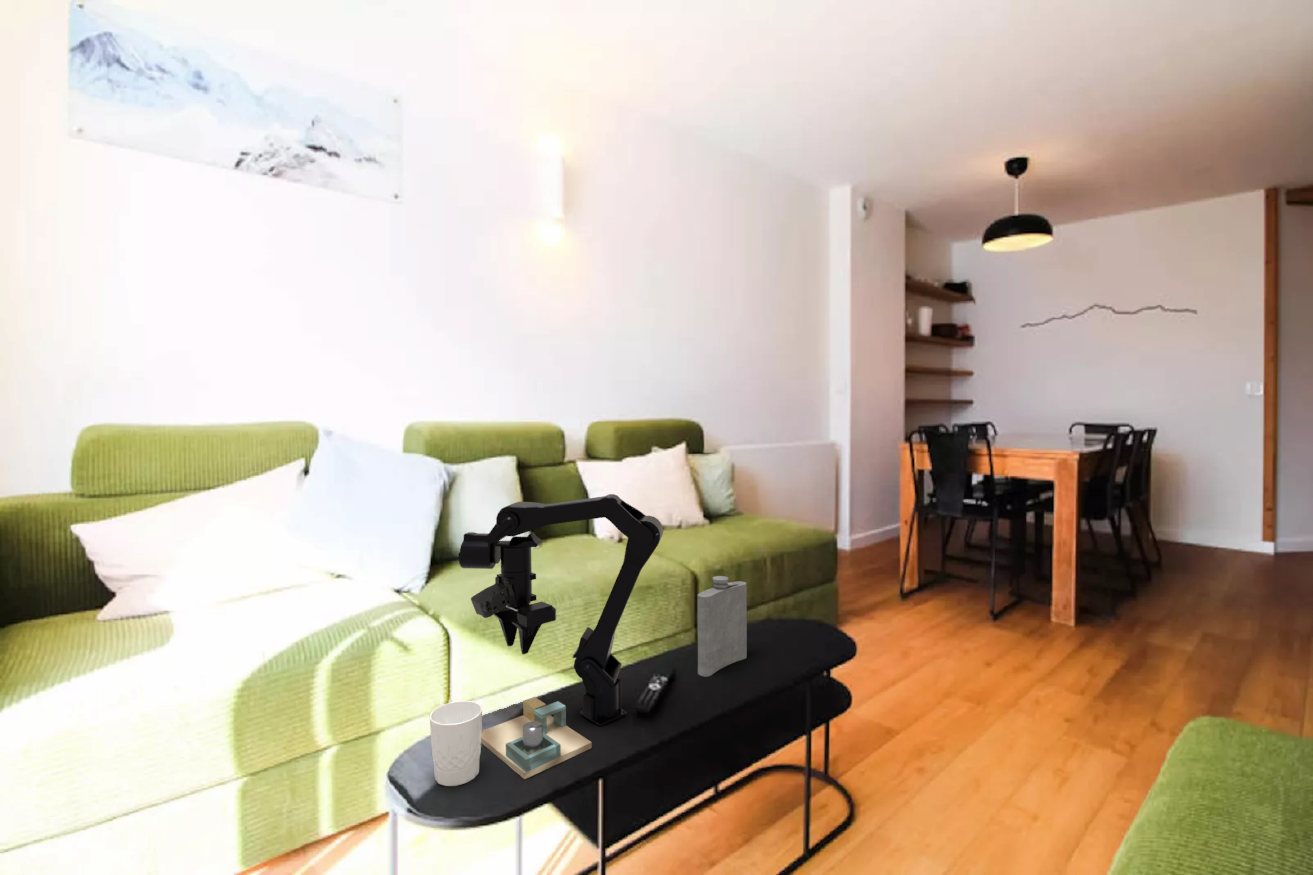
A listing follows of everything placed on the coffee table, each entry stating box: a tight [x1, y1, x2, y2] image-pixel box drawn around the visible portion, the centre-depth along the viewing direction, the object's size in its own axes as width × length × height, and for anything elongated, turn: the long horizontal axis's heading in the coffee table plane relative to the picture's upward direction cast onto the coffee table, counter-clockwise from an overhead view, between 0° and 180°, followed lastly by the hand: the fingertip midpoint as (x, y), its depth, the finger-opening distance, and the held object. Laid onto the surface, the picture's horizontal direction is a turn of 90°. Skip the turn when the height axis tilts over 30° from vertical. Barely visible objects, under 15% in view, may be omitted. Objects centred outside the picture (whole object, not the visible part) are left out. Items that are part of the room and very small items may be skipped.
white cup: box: [429, 700, 483, 787], centre depth 95 cm, size 8×8×10 cm
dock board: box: [481, 700, 593, 780], centre depth 104 cm, size 13×16×5 cm
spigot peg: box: [523, 721, 543, 755], centre depth 98 cm, size 3×3×5 cm
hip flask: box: [697, 575, 748, 677], centre depth 137 cm, size 16×4×20 cm, turn 136°
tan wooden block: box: [522, 696, 547, 721], centre depth 111 cm, size 2×4×3 cm, turn 43°
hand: (517, 649), depth 115 cm, fingers open, 5 cm apart
